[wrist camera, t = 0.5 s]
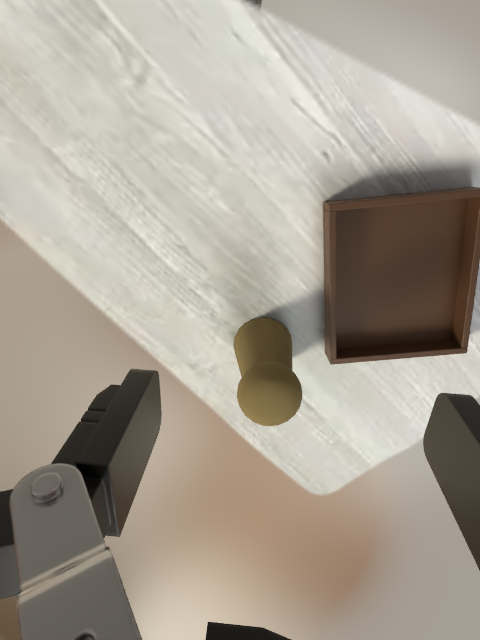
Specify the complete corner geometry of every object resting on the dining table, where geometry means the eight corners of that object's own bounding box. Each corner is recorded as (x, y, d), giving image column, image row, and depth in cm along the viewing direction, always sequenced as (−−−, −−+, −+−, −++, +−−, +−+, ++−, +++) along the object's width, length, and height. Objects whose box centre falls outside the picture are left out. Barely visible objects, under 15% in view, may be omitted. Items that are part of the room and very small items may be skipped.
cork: (269, 380, 41) (279, 450, 31) (222, 351, 40) (216, 414, 29) (304, 337, 39) (327, 397, 29) (255, 306, 38) (262, 356, 28)
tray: (322, 201, 34) (329, 203, 32) (472, 187, 34) (489, 188, 31) (325, 353, 40) (330, 364, 37) (453, 342, 39) (467, 353, 37)
